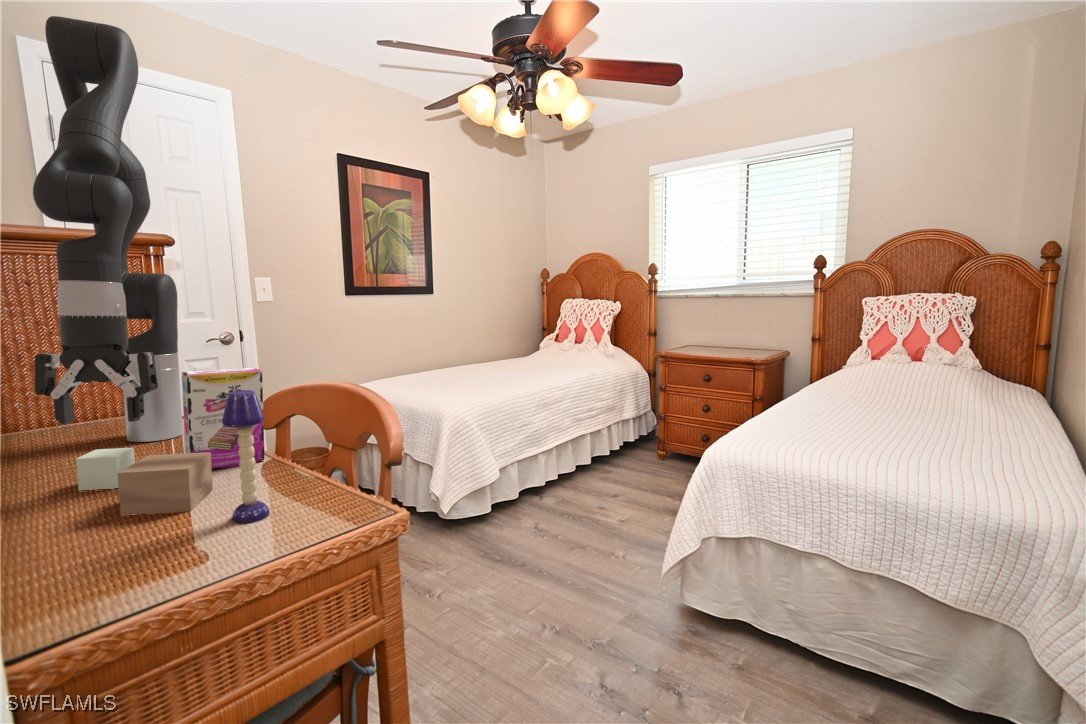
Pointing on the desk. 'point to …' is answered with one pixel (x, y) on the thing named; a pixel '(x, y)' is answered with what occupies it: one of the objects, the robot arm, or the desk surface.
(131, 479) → the walnut block
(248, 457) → the toy lamp
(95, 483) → the sage block
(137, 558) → the desk surface
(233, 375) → the candy bar box
